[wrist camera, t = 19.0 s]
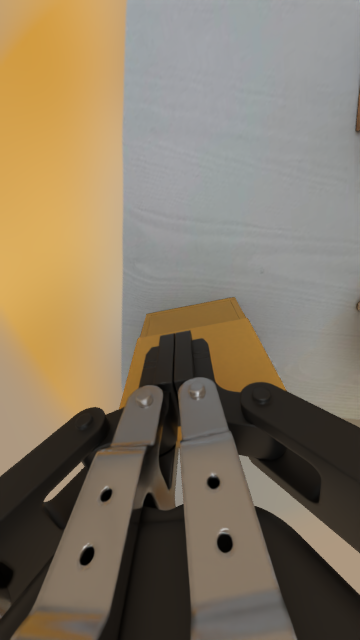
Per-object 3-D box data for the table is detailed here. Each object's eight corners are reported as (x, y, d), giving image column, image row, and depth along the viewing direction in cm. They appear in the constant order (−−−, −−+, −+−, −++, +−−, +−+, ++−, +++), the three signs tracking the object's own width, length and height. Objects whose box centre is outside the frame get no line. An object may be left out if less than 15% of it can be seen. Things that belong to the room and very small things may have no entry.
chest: (243, 368, 39) (254, 400, 33) (166, 381, 40) (164, 413, 34) (234, 296, 33) (247, 319, 27) (146, 313, 34) (139, 338, 28)
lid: (303, 431, 15) (304, 422, 15) (111, 458, 16) (107, 450, 16) (248, 323, 27) (247, 317, 26) (139, 343, 28) (137, 338, 28)
